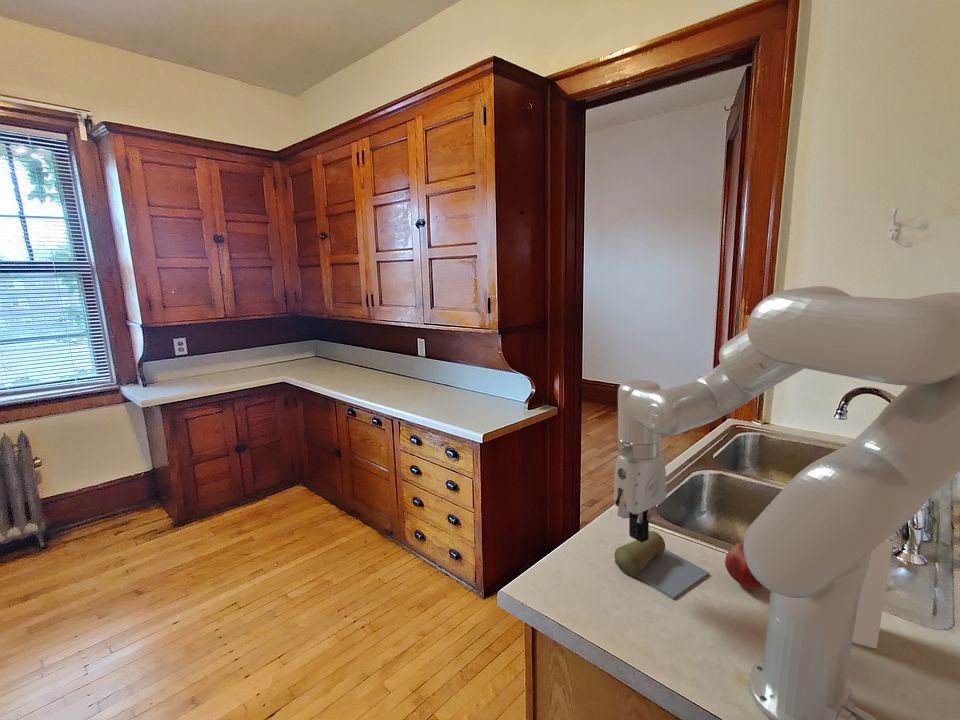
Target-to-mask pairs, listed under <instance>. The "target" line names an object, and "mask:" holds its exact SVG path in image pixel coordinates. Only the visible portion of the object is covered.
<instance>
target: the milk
mask: <svg viewBox="0 0 960 720" xmlns="http://www.w3.org/2000/svg"><path fill="white" fill-rule="evenodd" d="M893 548H894V545H893V543H892V541H891V540H890V538H889V537H888V538H887V539H886V540H884V541H883V542H882V543H881V544H879V545H878V546H877V547H876V548H875V549H873V550H872V553H871V558H870V562H869V565H868V568H867V571H866V575H865V578H864V581H863V585H862V588H861V592H860V597H859V602H858V608H857V614H856V621H855V626H854V632H853V639H852V644H856V645H860V646H862V647H863V646H864V647H867V648H870V649H874V648H875V650H877V648H878V642H879V636H880V635H879V634H880V631H881V630H880V629H881V625H882V617H883V611H884V604H885V598H886V592H887V585H888V579H889V572H890V565H891V559H892V552H893Z"/></svg>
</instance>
